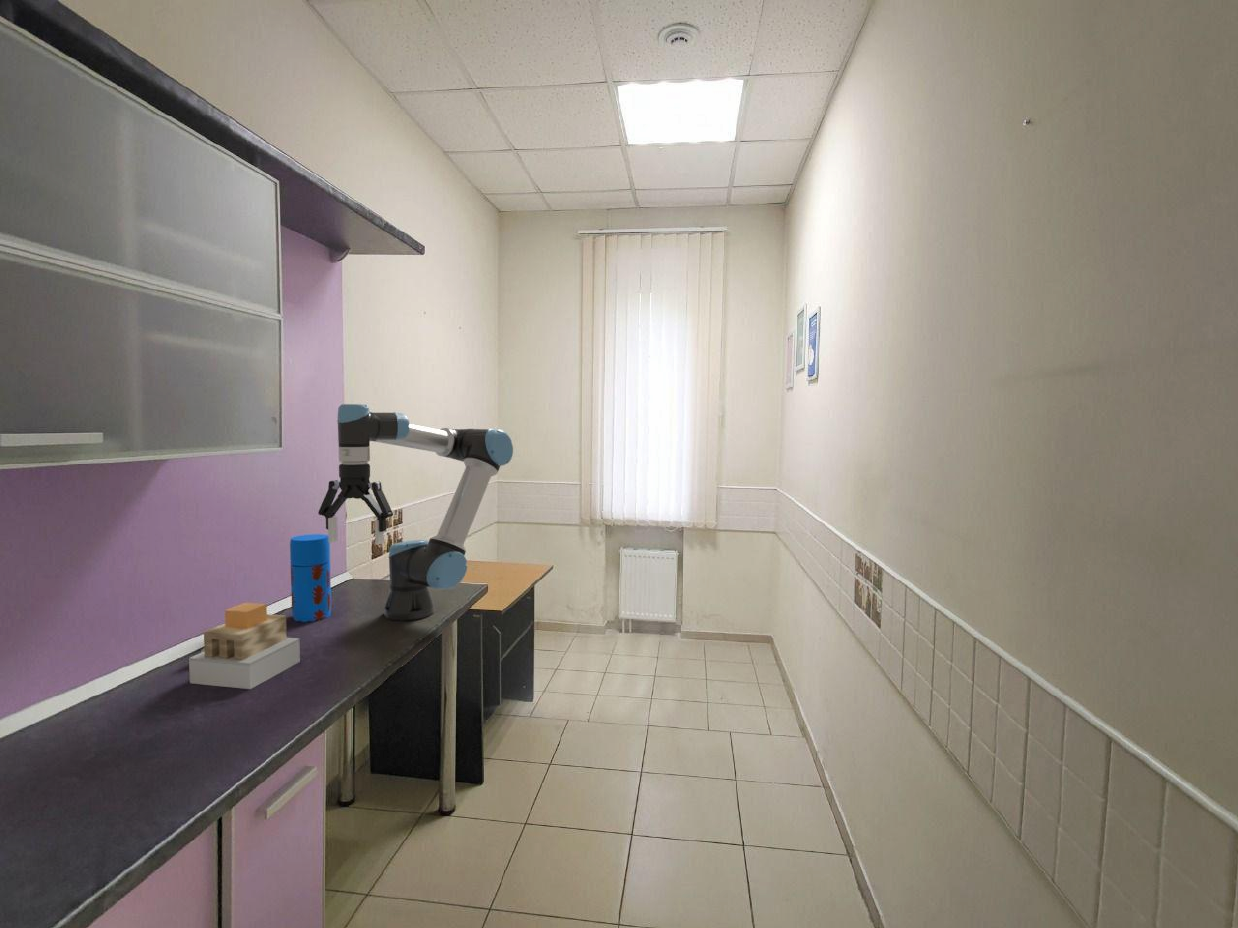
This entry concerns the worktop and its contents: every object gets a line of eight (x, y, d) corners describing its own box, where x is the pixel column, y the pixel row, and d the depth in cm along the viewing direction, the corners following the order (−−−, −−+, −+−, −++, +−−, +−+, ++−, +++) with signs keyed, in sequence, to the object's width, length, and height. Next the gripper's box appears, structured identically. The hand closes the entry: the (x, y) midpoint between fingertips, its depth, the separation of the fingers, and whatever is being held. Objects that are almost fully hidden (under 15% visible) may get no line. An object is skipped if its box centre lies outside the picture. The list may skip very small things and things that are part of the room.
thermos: (288, 615, 187) (286, 536, 185) (325, 608, 194) (323, 532, 192) (297, 624, 178) (294, 542, 177) (335, 617, 185) (333, 537, 184)
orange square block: (245, 618, 147) (245, 602, 147) (266, 620, 146) (266, 604, 146) (225, 626, 141) (224, 610, 141) (247, 628, 140) (246, 611, 140)
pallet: (251, 635, 152) (251, 612, 152) (286, 638, 150) (285, 615, 150) (204, 656, 138) (203, 631, 138) (242, 660, 136) (241, 634, 136)
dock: (244, 656, 154) (244, 634, 153) (299, 661, 151) (299, 638, 150) (190, 683, 138) (188, 657, 138) (250, 689, 135) (249, 663, 135)
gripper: (302, 462, 155) (304, 543, 157) (390, 464, 151) (391, 547, 152) (321, 461, 163) (323, 538, 164) (405, 463, 158) (406, 541, 160)
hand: (356, 542), depth 158 cm, fingers open, 13 cm apart
